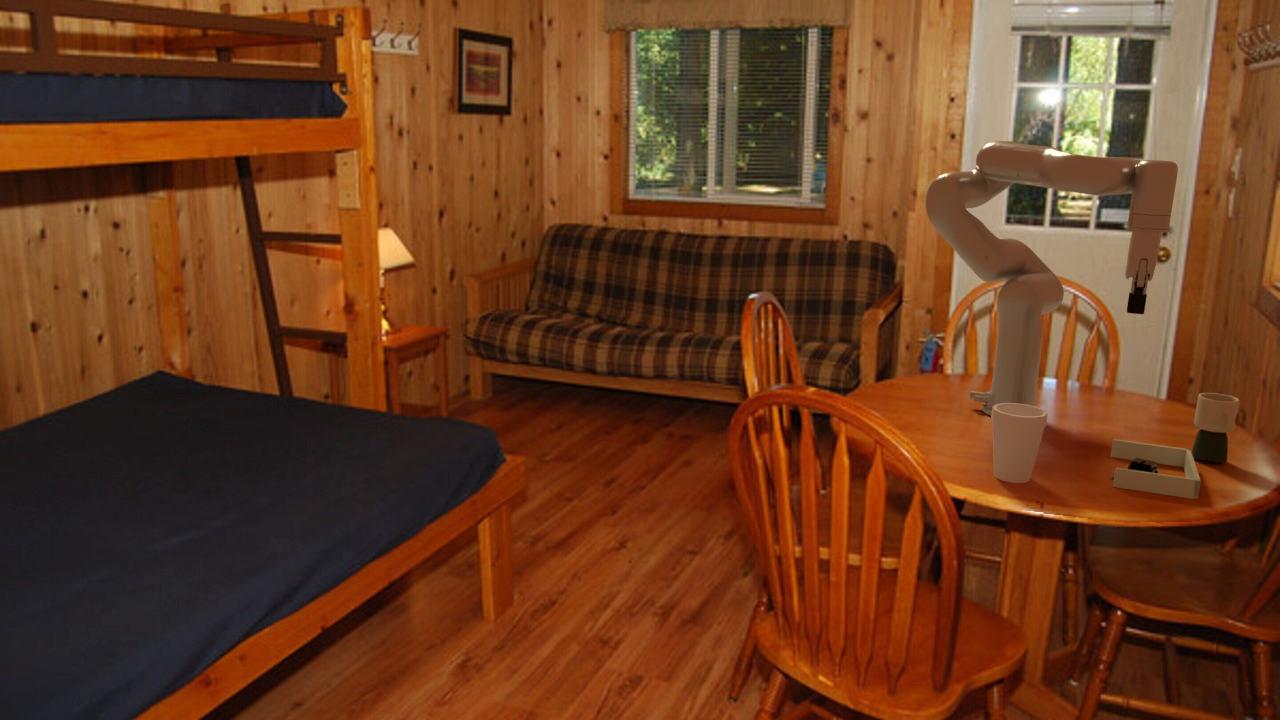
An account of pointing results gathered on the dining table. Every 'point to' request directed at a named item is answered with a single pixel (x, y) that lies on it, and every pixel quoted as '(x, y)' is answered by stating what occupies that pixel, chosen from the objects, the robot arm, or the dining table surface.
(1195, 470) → the corral
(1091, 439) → the dining table surface
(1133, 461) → the black piece
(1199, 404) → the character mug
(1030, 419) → the foam cup
